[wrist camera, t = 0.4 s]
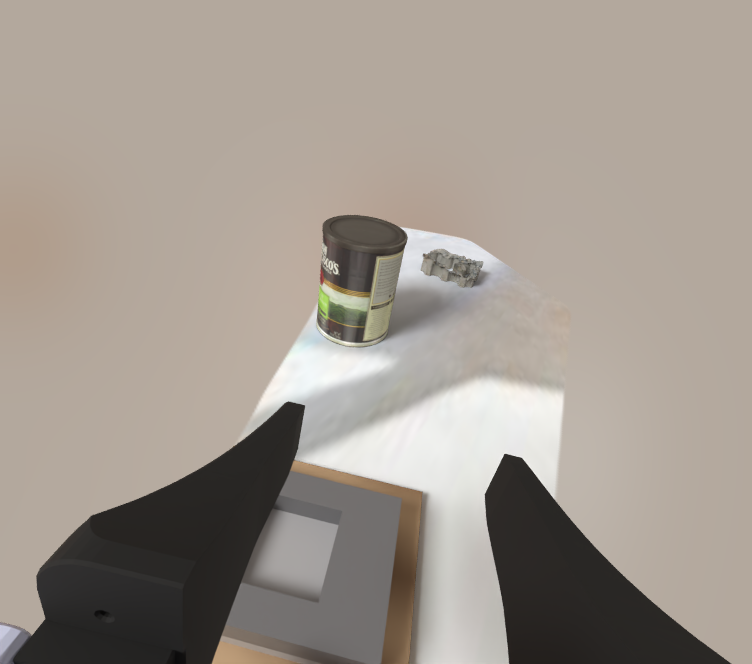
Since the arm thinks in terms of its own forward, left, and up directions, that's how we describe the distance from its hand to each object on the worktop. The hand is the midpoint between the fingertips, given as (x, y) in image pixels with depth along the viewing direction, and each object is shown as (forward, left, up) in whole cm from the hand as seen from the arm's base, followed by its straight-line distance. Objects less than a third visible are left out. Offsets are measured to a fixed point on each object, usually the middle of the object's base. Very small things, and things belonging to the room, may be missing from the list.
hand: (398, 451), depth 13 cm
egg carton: (+59, -6, -20) cm, 63 cm away
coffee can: (+35, +8, -19) cm, 41 cm away
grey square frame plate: (+3, +5, -18) cm, 19 cm away
